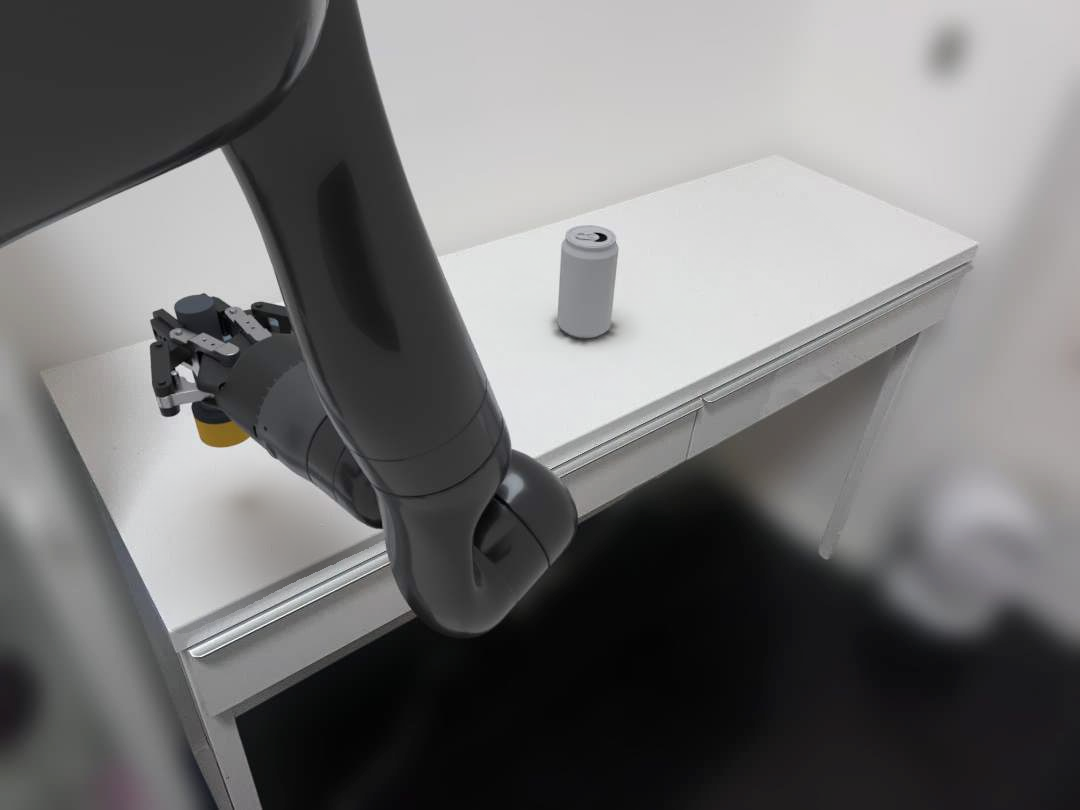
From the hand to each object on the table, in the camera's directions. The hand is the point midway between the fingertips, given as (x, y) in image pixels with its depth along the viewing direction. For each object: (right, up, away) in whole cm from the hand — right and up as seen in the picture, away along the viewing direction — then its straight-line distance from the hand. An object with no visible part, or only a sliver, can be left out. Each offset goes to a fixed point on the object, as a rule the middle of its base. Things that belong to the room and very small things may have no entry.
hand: (180, 313), depth 62 cm
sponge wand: (+2, -9, +4) cm, 10 cm away
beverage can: (+33, +2, +34) cm, 48 cm away
